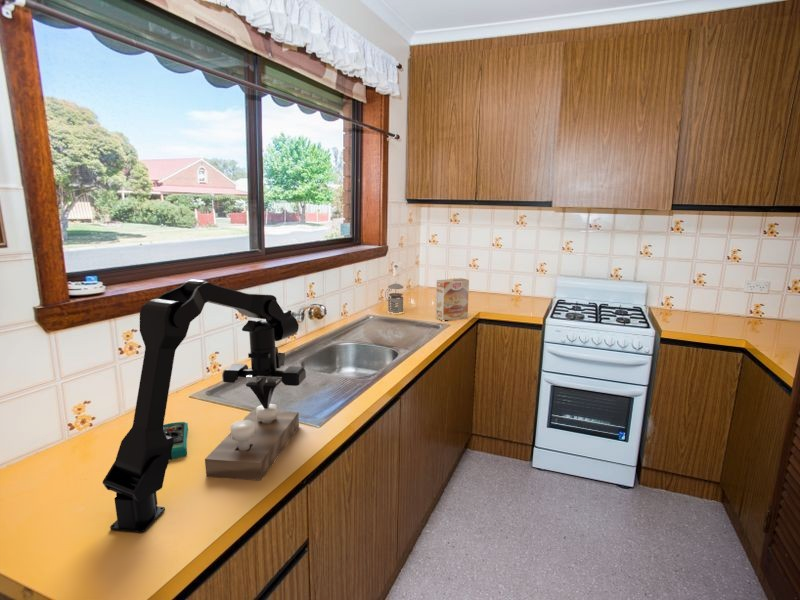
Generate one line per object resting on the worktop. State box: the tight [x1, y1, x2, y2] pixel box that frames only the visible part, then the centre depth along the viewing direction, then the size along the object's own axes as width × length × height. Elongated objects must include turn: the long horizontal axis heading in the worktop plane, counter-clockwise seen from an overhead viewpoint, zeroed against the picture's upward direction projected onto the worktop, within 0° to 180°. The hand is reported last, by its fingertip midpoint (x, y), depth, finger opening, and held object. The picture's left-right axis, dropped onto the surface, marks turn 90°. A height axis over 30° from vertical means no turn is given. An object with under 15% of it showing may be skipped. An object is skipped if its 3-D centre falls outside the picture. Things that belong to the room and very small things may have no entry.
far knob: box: [255, 403, 278, 424], centre depth 115 cm, size 5×5×7 cm
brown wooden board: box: [204, 409, 300, 481], centre depth 109 cm, size 24×12×4 cm, turn 173°
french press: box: [384, 264, 404, 313], centre depth 244 cm, size 10×12×25 cm
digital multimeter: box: [163, 421, 189, 460], centre depth 111 cm, size 7×15×3 cm, turn 23°
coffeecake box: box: [435, 277, 470, 322], centre depth 231 cm, size 15×7×20 cm, turn 119°
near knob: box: [230, 419, 255, 451], centre depth 102 cm, size 5×5×7 cm
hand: (266, 407), depth 114 cm, fingers closed, pressing on far knob
